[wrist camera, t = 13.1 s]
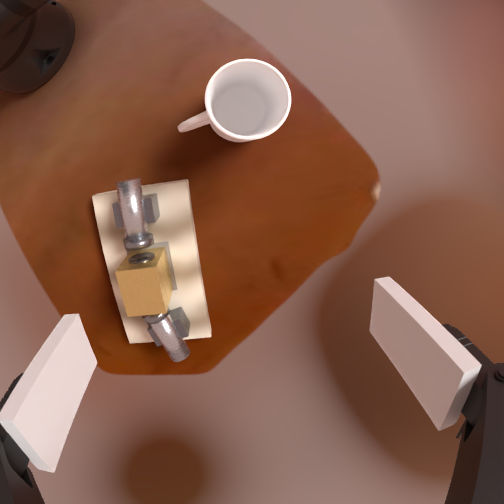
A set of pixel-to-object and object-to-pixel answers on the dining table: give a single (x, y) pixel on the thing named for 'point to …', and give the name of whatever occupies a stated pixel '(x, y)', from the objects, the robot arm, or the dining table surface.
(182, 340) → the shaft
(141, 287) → the wooden block with hole
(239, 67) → the mug
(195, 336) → the bench
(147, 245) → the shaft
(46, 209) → the dining table surface
